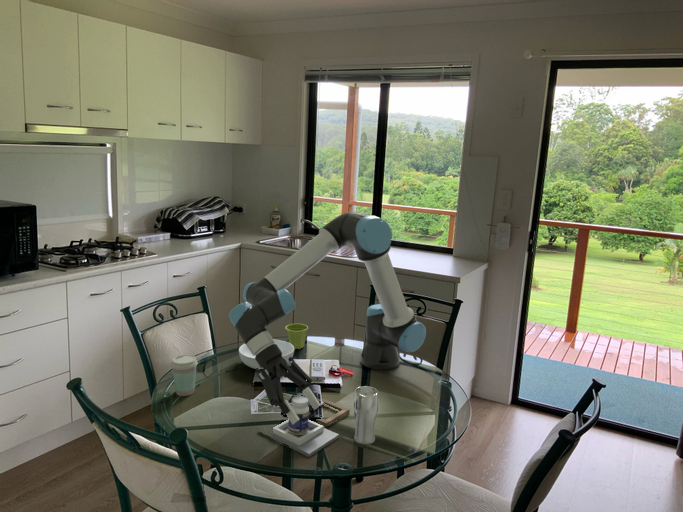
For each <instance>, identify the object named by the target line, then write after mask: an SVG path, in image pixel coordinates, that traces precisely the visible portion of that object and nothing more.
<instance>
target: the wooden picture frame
mask: <svg viewBox="0 0 683 512" xmlns="http://www.w3.org/2000/svg"><path fill="white" fill-rule="evenodd" d="M321 398H322V397H321ZM322 401H323V402H324V403H325V404H327V405H329V406H331V407H333V408H335V409H338V410H339V411H340V412H337V413H334V414H333V415H331V416H329V417H328V418H327V419H325V418H322V417H320V418H321V419H316V421H318V422H320V423H321V424H322V425H323V426H325V427H327V426H329V425H330V424H332V423H333V422H335V421H336V420H338V419H340V418H342V417H343V418H345V417H346V416H348V415H350V408H347V407H345V406H343V405H340V404H337V403H335V402H332V401H330V400H327V399H326V398H322ZM344 416H345V417H344ZM343 418H342V419H343ZM340 420H341V419H340ZM338 421H339V420H338ZM335 423H336V422H335ZM333 424H334V423H333ZM333 424H332V425H333ZM330 426H331V425H330ZM330 426H329V427H330ZM325 427H324V428H325ZM327 428H328V427H327Z"/></svg>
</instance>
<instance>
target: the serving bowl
mask: <svg viewBox="0 0 683 512" xmlns="http://www.w3.org/2000/svg"><path fill="white" fill-rule="evenodd" d="M273 340H274V341H275V342H274V344H277V346H278V347H279V349H280V350H281V352H282V357H283V358H284V359H285V360H286V359H288V358H290V357H292V358H293V356H294V355H295V354H294V353H295V349H294V346H293V345H292V344H290V343H289V341H285V340H280V339H275V338H273ZM238 355H239V358H240V360H241V361H242V363H243V364H244V365H246V366H247V367H249V368H251V369H254V370H257V369H256V368H260V369H263V368H261V367H260V366H259V364H258V363H257V361H256V360H255V357H256V356H253V355H252V353H251V352H250V350H249V349H248V347H247V345H246V344H245V343H243V344H242V345H240V346H239V348H238ZM260 369H259V370H260Z"/></svg>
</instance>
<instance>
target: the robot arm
mask: <svg viewBox="0 0 683 512" xmlns="http://www.w3.org/2000/svg"><path fill="white" fill-rule="evenodd" d="M392 239H393V232H392V229H391V226H390V224H389V223H388V222H387V221H386V220H385V219H383V218H381V217H379V216H376V215H372V214H365V213H361V212H356V211H347V212H344V213H342V214H340V215H338V216H336V217H335V218H333V219H332V220H330V221H329V222H327V223H326V224H325V225H323V226H322V227H321V228H320V229H319V231H318V234H317V235H316V236H314V237H313V238H312V239H311V240H309V241H308V242H307V243H306V244H304V245H303V246H302V247H300V248H299V249H297V250H296V252H294V253H293V254H292V255H290V257H288V258H287V259H285V260H284V261H283V262H282V263H281V264H279V265H278V266H276V267H275V268H274V269H273V270H271V271H270V272H269V273H268V274H266V276H264V277H263V278H261V279H260V280H259V281H258V282H257V281H252V282H249V283H247V284H246V285H245V286H244V288H243V290H242V298H243V300H244V301H243V302H241V303H239V304H237V305H236V306H235V307H233V308H232V309H231V310H230V311H229V312H228V318H229V320H230V322H231V323H232V325H233V327H234V329H235V330H236V331H237V333H238V334H239V337H240V338H241V339H242V341H243V343H244V344H246V345H247V347H248V349H249V350H250V352H251V353H252V355H253V356H256V357H255V360H256V361H257V363H258V364H259V366H260V367H261V368H263V369H264V370H261V372H260V373H258V375H257V378H258V379H259V381H261V384H262V386H263V389H264V391H265V394H266V396H267V398H268V401H269V404H270V406H272V407H273V406H274V407H276V408H277V407H279V408H280V410H281V412H282V413H283V415H285V414H286V415H287V417H288V418H289V420H290V421H291V423H292V425H293V424H294V423H296V422H297V421H298V420H300V419H299V417H298V416H297V414H296V413H295V411H294V410H293V408H292V407H291V405H292V404H291V403H290V402H289V401H288V399H285V397H284V392H283V387H282V384H281V383H282V382H281V379H282V377H283V378H287V379H288V380H290V381H291V382H292V383H294V384H295V385H296V386H298V387H299V388H301V389H302V391H301V393H302V394H303V397H306V398H307V399H308V404H309V405H311V406H312V408H313V409H314V410H313V411H315V410H317V409H318V408H320V407H322V406H321V404H320V403H319V401H318V400H319V399H318V398H317V397H316V394H315V392H314V391H313V389H312V387H311V385H312V382H313V379H312V378H311V377H310V376H309V375H308V374H307V372H305V371H304V370H303V369H302V367H301V366H299V364H297V362H296V360H295V359H294V358H293V357H290V358H288V359H286V360H285V359H284V358H283V357H282V352H281V350H280V349H279V347H278V346H277V344H274V342H275V341H274V340H273V339H274V338H273V336H272V335H271V333H270V332H269V331H268V330H267V328H266V327H268V326H269V325H271V324H273V323H274V322H276V321H278V320H280V319H282V318H283V317H285V316H288V314H289V313H290V312H292V311H294V310H295V309H296V302H295V299H294V297H293V295H292V294H291V292H290V291H289V290H287V289H288V288H289V287H290V286H291V285H292V284H293V283H295V282H296V281H298V280H299V279H300V278H301V277H302V276H303V275H305V274H306V273H307V272H308V271H309V270H311V269H312V268H313V267H315V266H316V265H317V264H319V263H320V262H321V261H322V260H323V259H325V258H326V257H328V255H330V254H331V253H332V252H338V251H340V250H341V248H343V247H347V246H349V247H353V249H354V252H355V254H356V256H357V259H358V261H360V262H363V263H364V264H365V267H366V270H367V273H368V276H369V278H370V280H371V283H372V286H373V288H374V291H375V293H376V296H377V298H378V301H379V303H377V304H371V305H370V306H369V307H368V308H367V310H366V314H365V315H366V316H365V317H366V318H365V319H366V320H365V322H366V323H365V325H366V326H365V328H366V329H365V344H364V346H363V349H362V351H361V354H360V363H361V365H362V366H364V367H366V368H368V369H374V370H383V371H385V370H391V369H392V370H393V369H394V368H396V367H398V366H399V364H400V355H399V352H398V349H399V350H400V351H404V352H406V353H413V352H416V351H417V350H419V349H420V348H421V346H423V344H424V342H425V340H426V337H427V329H426V326H425V325H424V324H423V323H422V322H420V321H418V320H417V317H416V314H415V312H414V310H413V309H412V308H411V307H409V306H408V305H407V303H406V300H405V296H404V294H403V291H402V288H401V286H400V283H399V279H398V277H397V274H396V272H395V271H396V270H395V269H394V266H393V263H392V261H391V258H390V254H389V252H390V250H391V243H392ZM319 406H320V407H319Z"/></svg>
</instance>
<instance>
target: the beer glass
mask: <svg viewBox="0 0 683 512" xmlns="http://www.w3.org/2000/svg"><path fill="white" fill-rule="evenodd" d="M378 411H379V391H378V389H377V388H375V387H373V386H369V385H364V386H358V387H357V388H355V390H354V398H353V414H354V415H353V416H354V419H355V431H354V432H355V433H354V436H353V440H354V441H355V442H356V443H357V444H360V445H363V446H365V445H372V444H373V443H375V441H376V435H375V425H376V421H377V416H378Z"/></svg>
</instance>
